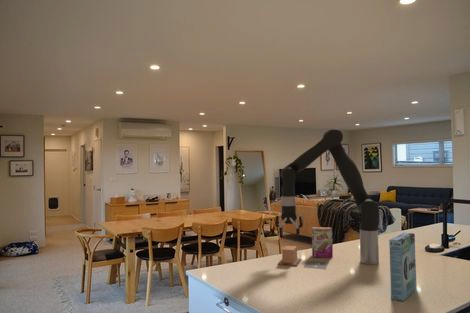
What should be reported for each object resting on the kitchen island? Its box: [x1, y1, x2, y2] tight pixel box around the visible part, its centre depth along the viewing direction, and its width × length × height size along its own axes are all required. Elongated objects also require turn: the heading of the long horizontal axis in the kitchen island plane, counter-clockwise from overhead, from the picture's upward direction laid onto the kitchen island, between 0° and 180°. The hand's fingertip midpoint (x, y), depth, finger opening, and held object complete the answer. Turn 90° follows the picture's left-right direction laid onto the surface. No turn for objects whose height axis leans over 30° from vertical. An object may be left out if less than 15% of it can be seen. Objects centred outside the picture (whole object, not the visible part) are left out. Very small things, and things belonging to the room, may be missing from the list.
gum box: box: [388, 232, 418, 302], centre depth 147 cm, size 20×5×23 cm, turn 140°
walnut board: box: [277, 257, 302, 268], centre depth 194 cm, size 10×13×1 cm
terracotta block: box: [281, 245, 298, 264], centre depth 194 cm, size 6×9×7 cm, turn 160°
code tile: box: [303, 260, 329, 270], centre depth 189 cm, size 11×14×1 cm
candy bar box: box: [311, 226, 334, 259], centre depth 206 cm, size 11×5×16 cm, turn 84°
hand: (289, 235), depth 194 cm, fingers open, 8 cm apart
